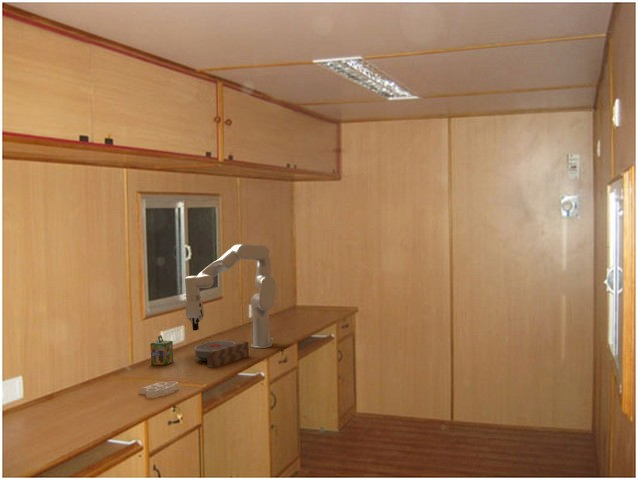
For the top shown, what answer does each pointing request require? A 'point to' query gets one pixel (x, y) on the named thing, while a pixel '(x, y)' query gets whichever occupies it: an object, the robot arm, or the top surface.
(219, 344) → the first aid kit
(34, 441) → the top surface
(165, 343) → the chalk box
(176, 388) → the white muffin tray
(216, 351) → the walnut board
